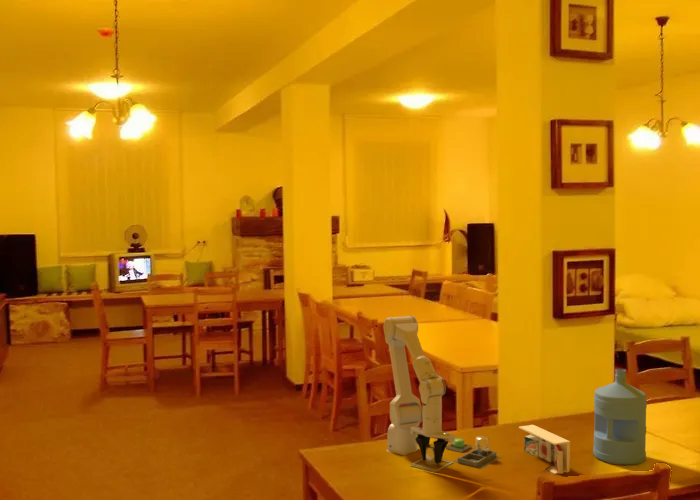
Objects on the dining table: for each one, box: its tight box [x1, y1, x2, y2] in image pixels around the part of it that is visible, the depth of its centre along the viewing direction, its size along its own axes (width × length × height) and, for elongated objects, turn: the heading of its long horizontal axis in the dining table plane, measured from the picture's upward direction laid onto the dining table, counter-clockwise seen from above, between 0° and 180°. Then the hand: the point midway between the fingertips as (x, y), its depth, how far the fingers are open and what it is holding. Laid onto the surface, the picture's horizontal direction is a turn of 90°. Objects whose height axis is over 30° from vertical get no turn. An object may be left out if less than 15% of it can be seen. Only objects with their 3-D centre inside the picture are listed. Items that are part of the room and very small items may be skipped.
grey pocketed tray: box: [452, 448, 502, 469], centre depth 230 cm, size 10×13×3 cm
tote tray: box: [410, 458, 454, 474], centre depth 226 cm, size 9×9×1 cm
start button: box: [452, 438, 465, 449], centre depth 241 cm, size 4×4×3 cm
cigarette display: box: [518, 424, 571, 475], centre depth 229 cm, size 20×6×9 cm, turn 21°
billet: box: [424, 443, 440, 467], centre depth 226 cm, size 4×4×6 cm
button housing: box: [445, 442, 473, 453], centre depth 241 cm, size 6×6×2 cm
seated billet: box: [475, 435, 490, 456], centre depth 232 cm, size 4×4×6 cm
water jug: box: [592, 368, 648, 466], centre depth 234 cm, size 16×16×28 cm
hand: (432, 461), depth 226 cm, fingers closed on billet, 4 cm apart
